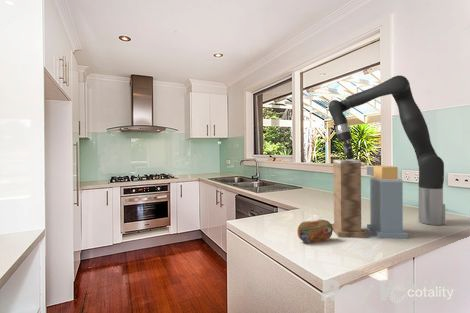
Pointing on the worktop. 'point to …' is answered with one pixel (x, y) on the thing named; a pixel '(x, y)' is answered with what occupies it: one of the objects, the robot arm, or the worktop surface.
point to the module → (383, 172)
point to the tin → (315, 231)
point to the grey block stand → (386, 208)
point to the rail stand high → (347, 198)
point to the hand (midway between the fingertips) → (350, 159)
